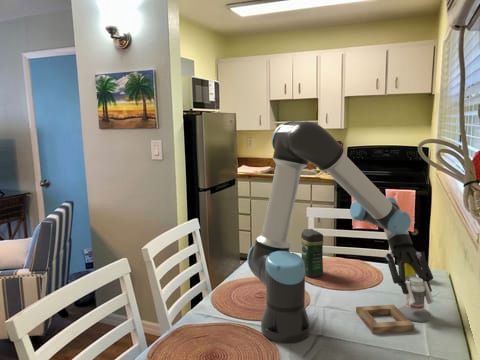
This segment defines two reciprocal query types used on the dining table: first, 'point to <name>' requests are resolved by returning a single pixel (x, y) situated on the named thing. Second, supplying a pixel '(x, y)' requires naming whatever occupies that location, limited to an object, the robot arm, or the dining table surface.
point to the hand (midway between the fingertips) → (421, 303)
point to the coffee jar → (312, 252)
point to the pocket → (384, 327)
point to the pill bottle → (417, 294)
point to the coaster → (416, 314)
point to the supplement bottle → (409, 271)
